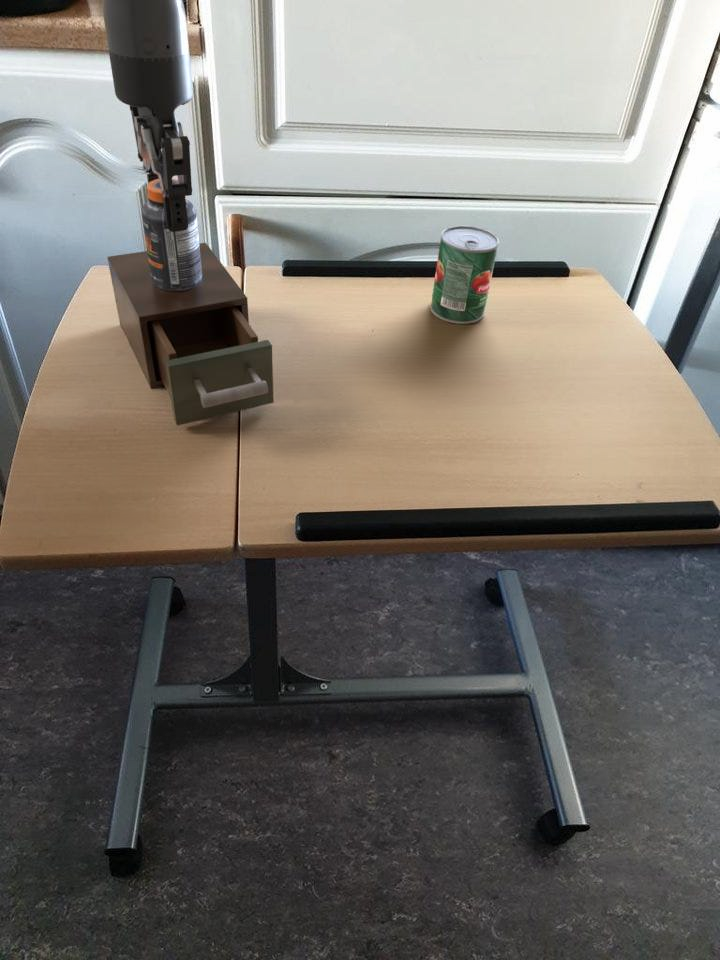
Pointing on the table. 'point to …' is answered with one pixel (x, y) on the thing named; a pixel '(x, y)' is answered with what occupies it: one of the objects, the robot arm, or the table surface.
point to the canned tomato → (463, 274)
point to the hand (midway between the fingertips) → (169, 217)
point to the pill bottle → (170, 244)
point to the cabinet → (166, 300)
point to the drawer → (211, 363)
